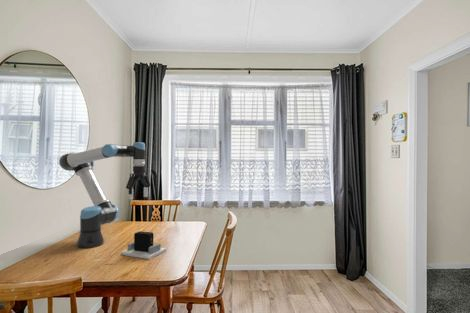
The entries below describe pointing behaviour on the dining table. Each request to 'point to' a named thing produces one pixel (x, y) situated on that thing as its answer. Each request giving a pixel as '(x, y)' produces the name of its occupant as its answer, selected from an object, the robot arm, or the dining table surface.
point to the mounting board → (152, 252)
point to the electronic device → (143, 241)
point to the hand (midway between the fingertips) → (138, 198)
